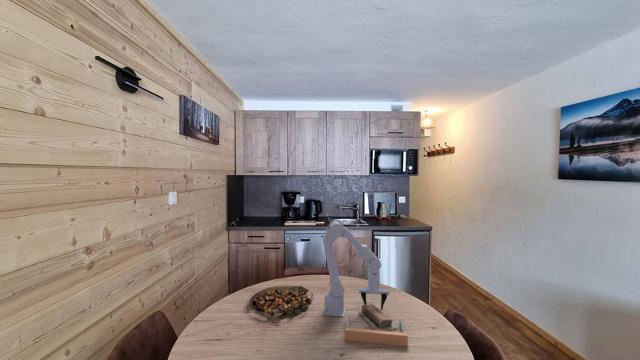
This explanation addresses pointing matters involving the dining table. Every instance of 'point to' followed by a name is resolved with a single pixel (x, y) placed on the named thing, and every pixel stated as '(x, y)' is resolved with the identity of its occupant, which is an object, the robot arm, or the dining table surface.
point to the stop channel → (376, 335)
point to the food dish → (281, 302)
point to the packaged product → (376, 318)
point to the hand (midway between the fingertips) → (373, 308)
